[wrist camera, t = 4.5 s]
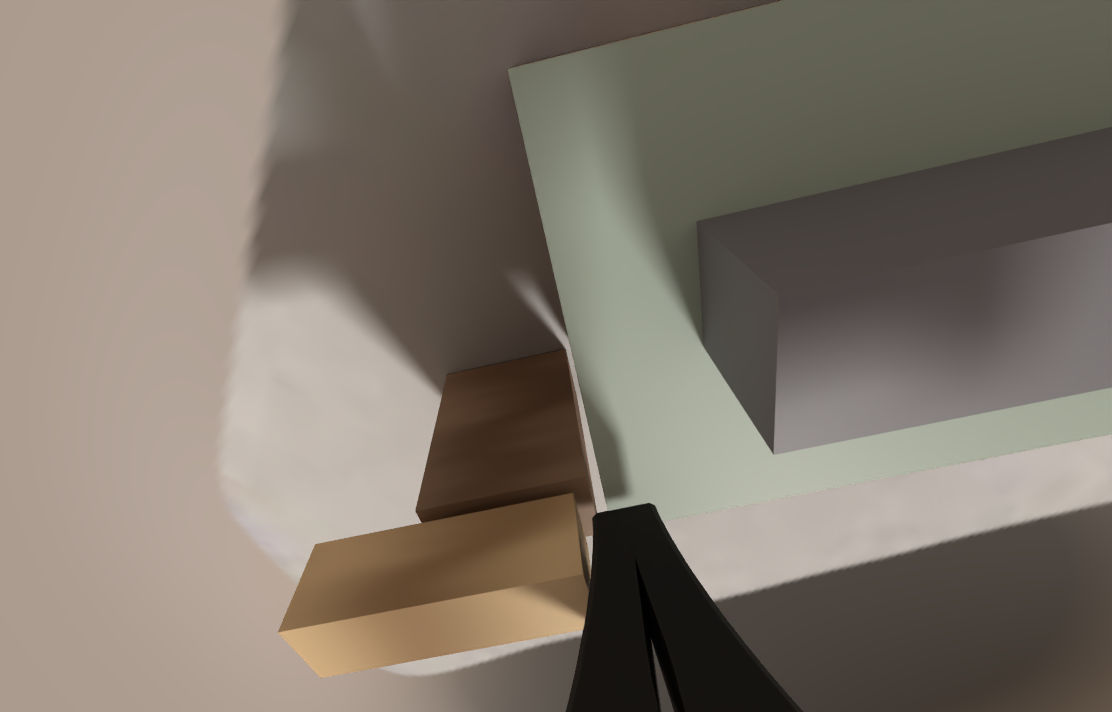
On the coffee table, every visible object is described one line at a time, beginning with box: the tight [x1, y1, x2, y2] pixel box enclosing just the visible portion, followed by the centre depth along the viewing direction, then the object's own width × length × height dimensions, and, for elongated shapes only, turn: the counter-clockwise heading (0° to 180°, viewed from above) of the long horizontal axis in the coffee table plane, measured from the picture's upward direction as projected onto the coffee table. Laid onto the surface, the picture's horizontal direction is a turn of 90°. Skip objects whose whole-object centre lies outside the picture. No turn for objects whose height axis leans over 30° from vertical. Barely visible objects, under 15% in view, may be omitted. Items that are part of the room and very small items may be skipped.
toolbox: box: [416, 0, 783, 537], centre depth 12 cm, size 18×10×6 cm, turn 102°
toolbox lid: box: [507, 0, 1112, 521], centre depth 9 cm, size 14×10×5 cm
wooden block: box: [278, 493, 591, 678], centre depth 10 cm, size 6×2×2 cm, turn 102°
